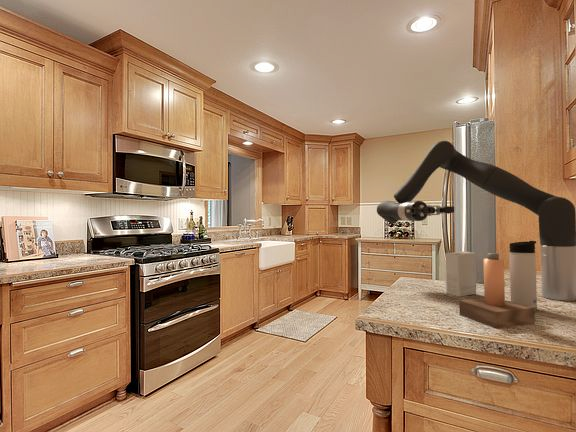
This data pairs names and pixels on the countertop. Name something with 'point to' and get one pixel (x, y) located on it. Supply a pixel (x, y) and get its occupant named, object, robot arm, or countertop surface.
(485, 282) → the orange bottle
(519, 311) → the walnut plinth
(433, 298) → the countertop surface
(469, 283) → the skincare box
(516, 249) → the travel mug
